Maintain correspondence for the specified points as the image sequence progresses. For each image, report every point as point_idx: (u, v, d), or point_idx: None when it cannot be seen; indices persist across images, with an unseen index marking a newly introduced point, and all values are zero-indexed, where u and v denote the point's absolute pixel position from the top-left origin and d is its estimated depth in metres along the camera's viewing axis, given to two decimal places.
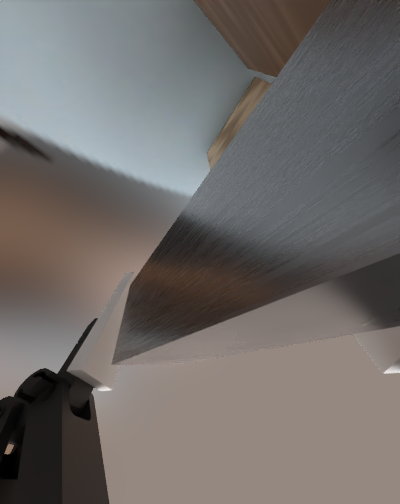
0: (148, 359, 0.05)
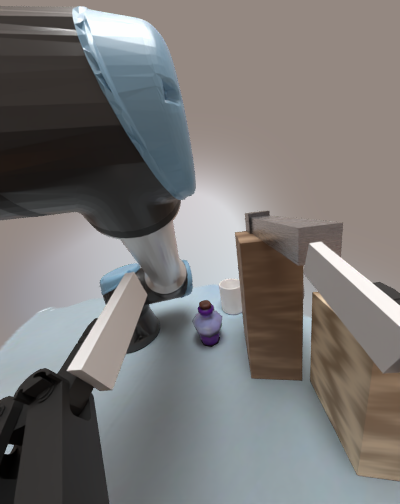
0: (296, 224, 0.16)
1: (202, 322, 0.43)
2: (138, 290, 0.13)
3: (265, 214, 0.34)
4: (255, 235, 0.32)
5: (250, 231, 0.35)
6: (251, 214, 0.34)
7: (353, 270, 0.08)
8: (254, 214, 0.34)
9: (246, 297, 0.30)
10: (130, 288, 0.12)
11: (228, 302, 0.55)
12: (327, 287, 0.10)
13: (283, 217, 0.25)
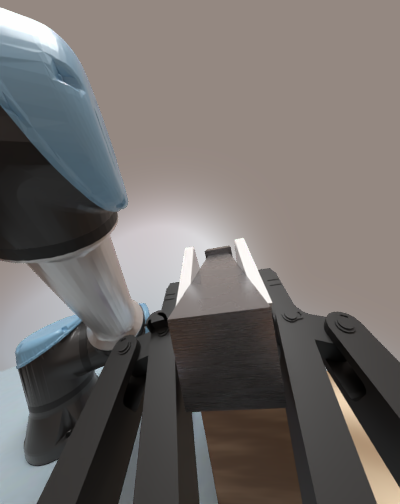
0: (197, 295, 0.07)
1: None
2: (196, 263, 0.14)
3: (226, 251, 0.26)
4: None
5: None
6: (208, 251, 0.27)
7: (252, 259, 0.11)
8: (212, 251, 0.27)
9: None
10: (194, 260, 0.13)
11: None
12: None
13: (231, 260, 0.17)
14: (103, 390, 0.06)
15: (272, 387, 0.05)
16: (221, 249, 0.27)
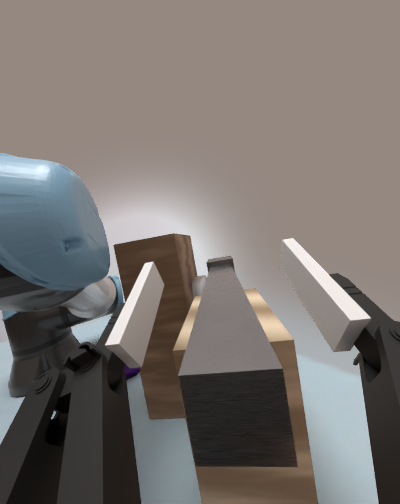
0: (204, 337, 0.07)
1: None
2: (157, 279, 0.13)
3: (228, 263, 0.27)
4: None
5: None
6: (210, 263, 0.27)
7: (315, 262, 0.09)
8: (214, 263, 0.27)
9: None
10: (151, 277, 0.12)
11: None
12: (295, 279, 0.11)
13: (234, 279, 0.17)
14: (16, 438, 0.06)
15: (283, 446, 0.05)
16: (223, 261, 0.27)
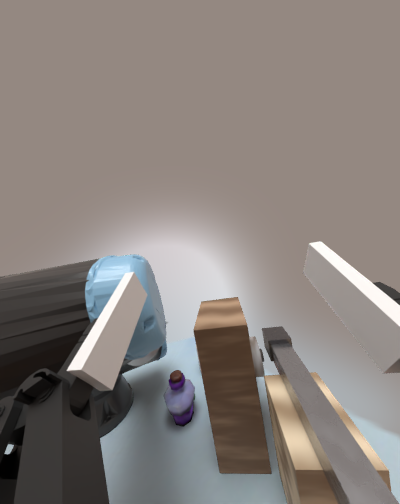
0: None
1: (173, 398, 0.41)
2: (138, 290, 0.13)
3: (287, 342, 0.31)
4: None
5: (272, 358, 0.32)
6: (271, 341, 0.32)
7: (353, 270, 0.08)
8: (275, 341, 0.32)
9: (204, 381, 0.31)
10: (130, 288, 0.12)
11: None
12: (327, 287, 0.10)
13: (318, 389, 0.22)
14: None
15: None
16: (282, 340, 0.31)
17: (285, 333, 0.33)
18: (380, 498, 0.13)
